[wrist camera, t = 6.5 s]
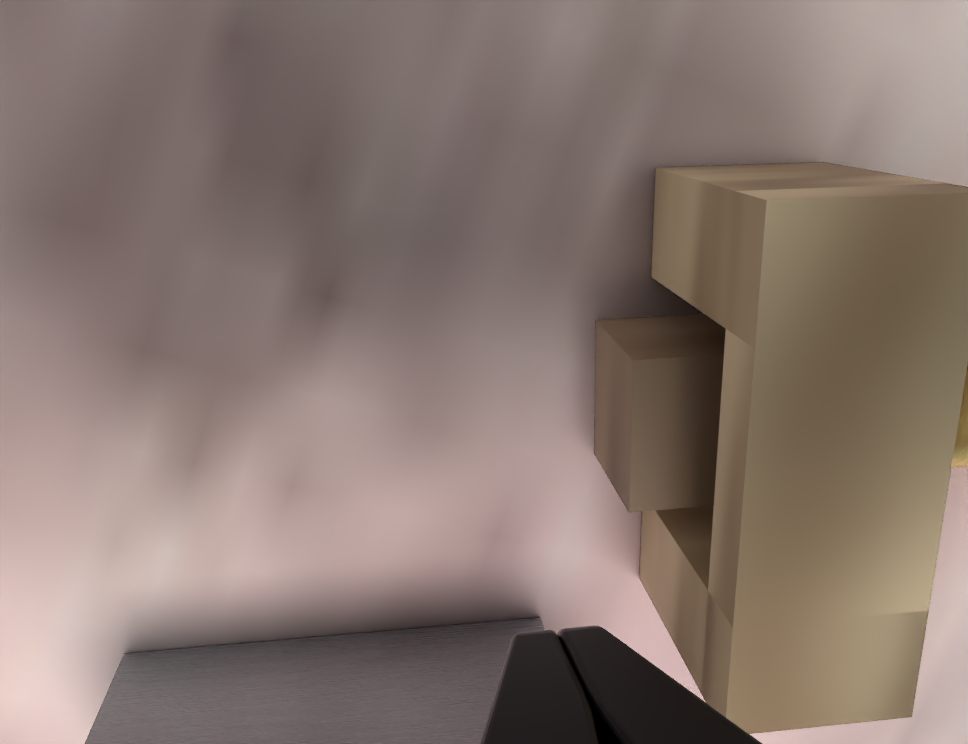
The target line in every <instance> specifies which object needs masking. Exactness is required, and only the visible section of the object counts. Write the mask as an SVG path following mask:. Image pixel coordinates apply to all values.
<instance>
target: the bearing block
mask: <svg viewBox="0 0 968 744" xmlns="http://www.w3.org/2000/svg"><path fill="white" fill-rule="evenodd" d="M651 277H652V278H653V279H655V280H656V281H658V282H659V283H660V284H662V285H663V286H665V287H666V288H668V289H669V290H671V291H672V292H673V293H675V294H676V295H678V296H679V297H681V298H682V299H684V300H685V301H686V302H688V303H689V304H691V305H692V306H694V307H695V308H697V309H698V310H699V311H701V312H702V313H704V314H705V315H707V316H708V317H710V318H711V319H712V320H714V321H715V322H717V323H718V324H720V325H721V326H723V327H724V328H725V329H726V332H725V346H724V361H723V376H722V391H721V406H720V421H719V436H718V450H717V465H716V480H715V495H714V505H713V506H701V507H689V508H677V509H665V510H653V511H642V527H641V552H640V578H639V579H640V580H641V582H642V584H643V586H644V588H645V590H646V592H647V593H648V595H649V597H650V599H651V601H652V603H653V605H654V606H655V608H656V610H657V612H658V614H659V616H660V618H661V619H662V621H663V623H664V625H665V627H666V629H667V631H668V632H669V634H670V636H671V638H672V640H673V642H674V644H675V646H676V647H677V649H678V651H679V653H680V655H681V657H682V659H683V660H684V662H685V664H686V666H687V668H688V670H689V672H690V673H691V675H692V677H693V679H694V681H695V683H696V685H697V686H698V688H699V690H700V692H701V694H702V696H703V698H704V699H705V701H706V703H707V704H708V705H710V706H711V707H712V708H714V709H715V710H716V711H718V712H719V713H721V714H722V715H723V716H725V717H726V718H727V719H729V720H730V721H732V722H733V723H734V724H736V725H737V726H738V727H740V728H741V729H743V730H744V731H745V732H747V733H748V734H752V733H762V732H772V731H781V730H791V729H801V728H810V727H820V726H830V725H839V724H849V723H858V722H868V721H878V720H887V719H897V718H907V717H912V712H913V706H914V699H915V693H916V687H917V680H918V674H919V668H920V661H921V655H922V649H923V642H924V636H925V630H926V623H927V617H928V611H929V604H930V598H931V592H932V585H933V579H934V573H935V566H936V560H937V554H938V548H939V541H940V535H941V529H942V522H943V516H944V510H945V503H946V497H947V491H948V484H949V478H950V472H951V465H952V459H953V453H954V446H955V440H956V434H957V427H958V421H959V415H960V409H961V402H962V396H963V390H964V383H965V377H966V371H967V364H968V187H964V186H958V185H953V184H947V183H941V182H935V181H929V180H923V179H918V178H912V177H906V176H900V175H894V174H888V173H883V172H877V171H871V170H865V169H859V168H854V167H848V166H842V165H836V164H830V163H824V162H815V163H785V164H754V165H723V166H693V167H662V168H656V171H655V196H654V222H653V247H652V273H651Z"/></svg>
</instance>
